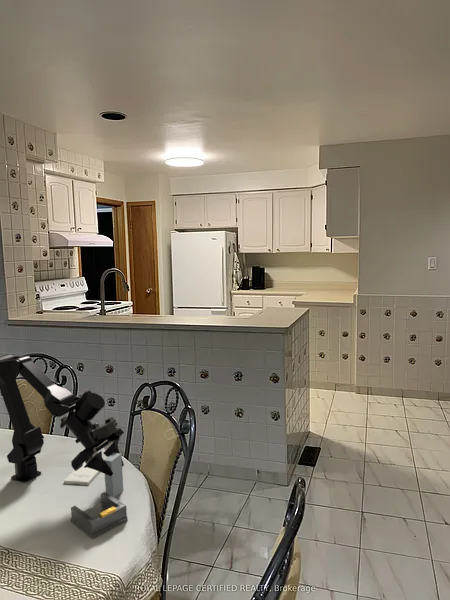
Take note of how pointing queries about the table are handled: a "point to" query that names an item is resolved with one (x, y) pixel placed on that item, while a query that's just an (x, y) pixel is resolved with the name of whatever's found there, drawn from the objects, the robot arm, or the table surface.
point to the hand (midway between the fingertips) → (117, 470)
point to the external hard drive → (82, 476)
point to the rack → (100, 516)
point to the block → (114, 475)
